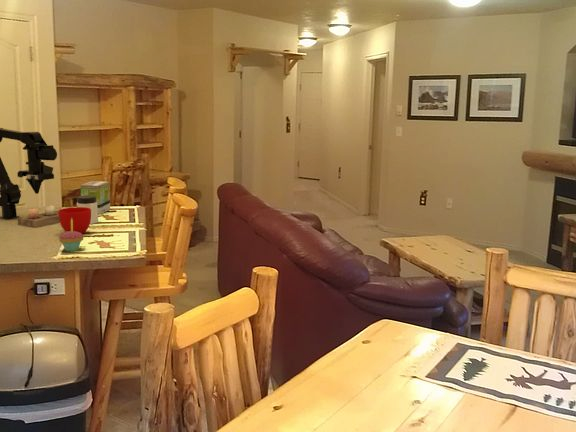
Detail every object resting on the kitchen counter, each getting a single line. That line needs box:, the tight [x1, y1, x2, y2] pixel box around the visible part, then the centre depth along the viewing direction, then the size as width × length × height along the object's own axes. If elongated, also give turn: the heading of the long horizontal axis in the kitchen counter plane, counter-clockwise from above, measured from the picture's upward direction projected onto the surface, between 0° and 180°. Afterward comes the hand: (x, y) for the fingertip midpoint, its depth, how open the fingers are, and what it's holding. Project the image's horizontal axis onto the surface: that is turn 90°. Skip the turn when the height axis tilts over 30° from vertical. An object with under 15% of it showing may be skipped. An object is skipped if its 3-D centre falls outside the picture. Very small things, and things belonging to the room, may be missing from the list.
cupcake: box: [58, 218, 84, 252], centre depth 224 cm, size 9×8×12 cm
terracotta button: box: [27, 207, 40, 219], centre depth 268 cm, size 4×4×4 cm
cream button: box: [44, 205, 56, 216], centre depth 275 cm, size 4×4×4 cm
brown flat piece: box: [17, 209, 60, 228], centre depth 276 cm, size 12×25×3 cm, turn 149°
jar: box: [76, 195, 99, 225], centre depth 272 cm, size 9×8×12 cm
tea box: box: [80, 180, 111, 216], centre depth 297 cm, size 15×10×15 cm
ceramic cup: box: [57, 206, 91, 235], centre depth 253 cm, size 13×17×10 cm
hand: (37, 193), depth 276 cm, fingers closed
